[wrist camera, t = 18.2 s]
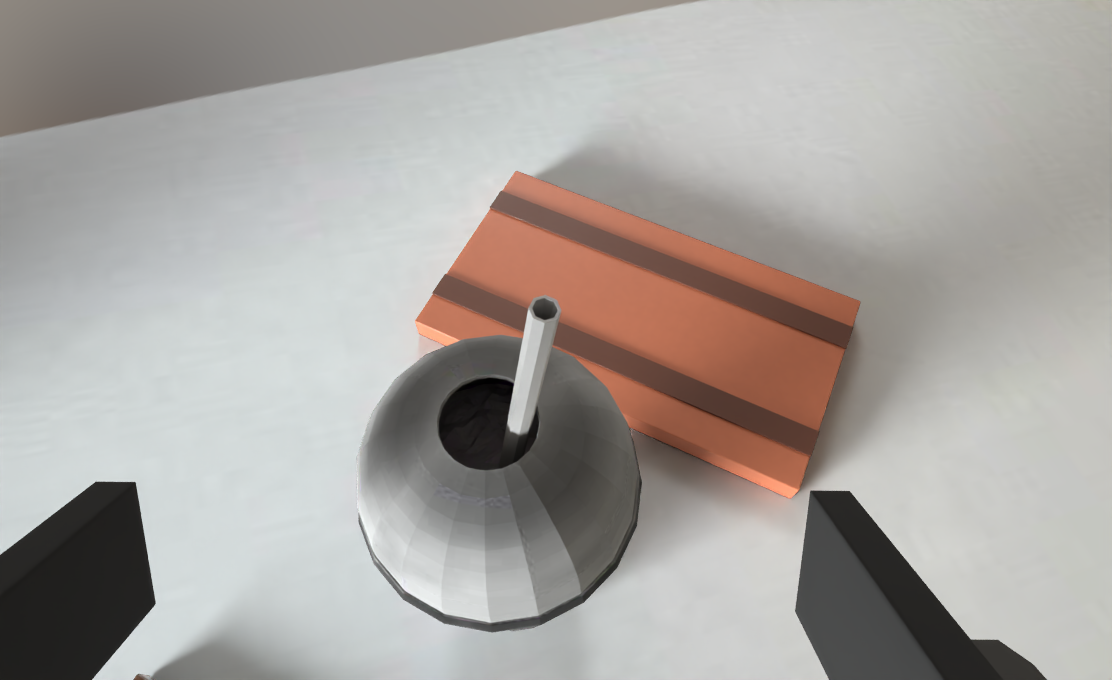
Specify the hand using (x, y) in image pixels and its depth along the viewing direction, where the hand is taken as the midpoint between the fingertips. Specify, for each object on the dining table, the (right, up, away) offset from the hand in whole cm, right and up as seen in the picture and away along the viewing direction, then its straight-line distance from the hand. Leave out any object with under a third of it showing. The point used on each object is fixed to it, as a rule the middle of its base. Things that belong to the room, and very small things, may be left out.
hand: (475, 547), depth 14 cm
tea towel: (+5, +5, +20) cm, 21 cm away
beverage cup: (0, -5, +15) cm, 15 cm away
